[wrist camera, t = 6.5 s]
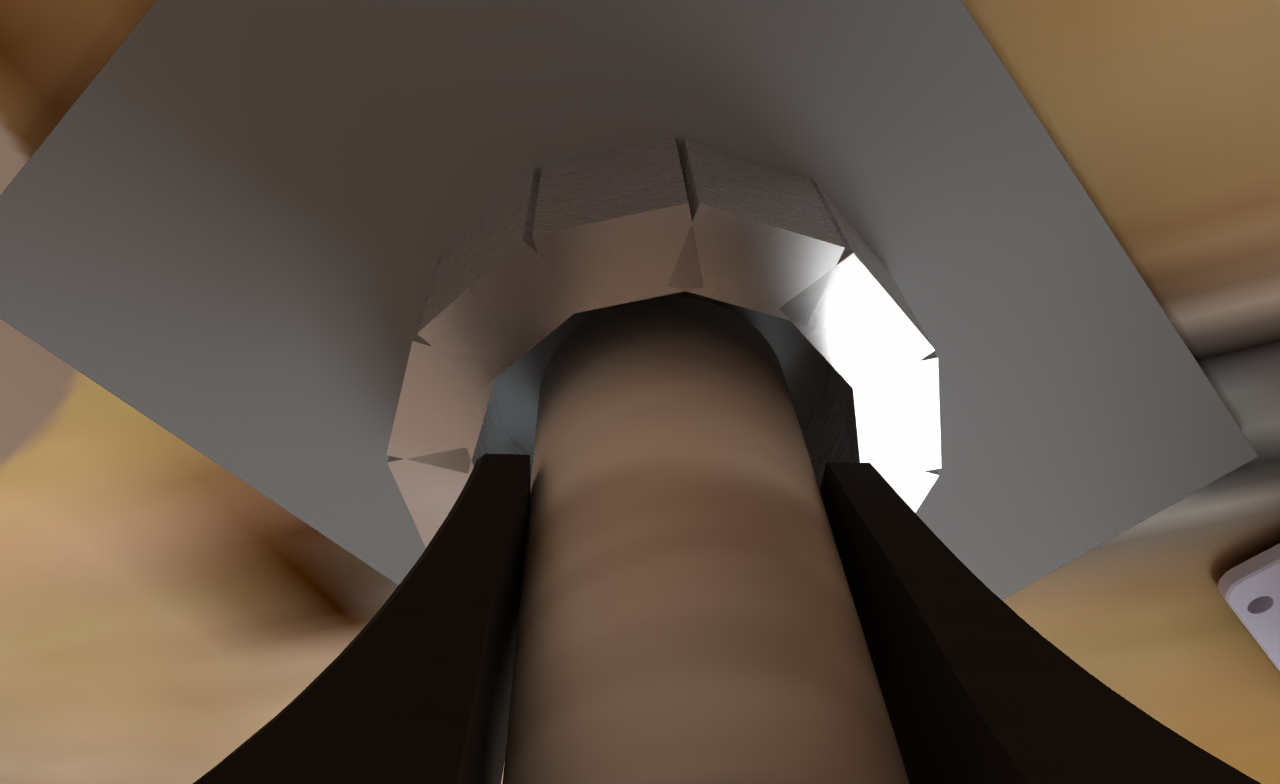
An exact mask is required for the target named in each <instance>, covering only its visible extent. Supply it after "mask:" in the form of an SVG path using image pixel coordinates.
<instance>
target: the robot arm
mask: <svg viewBox="0 0 1280 784" xmlns="http://www.w3.org/2000/svg"><path fill="white" fill-rule="evenodd" d="M530 493H531V487H530V455H524V454H484V455H483V456H481V457H480V458H479V459H478V460H477V461H476V463H475V465H474V468H473V470H472V472H471V474H470V476H469V478H468V480H467V482H466V484H465V486H464V488H463V490H462V492H461V493H460V495H459V497H458V499H457V500H456V502H455V504H454V505H453V507H452V509H451V510H450V512H449V514H448V515H447V517H446V519H445V520H444V522H443V523H442V525H441V526H440V528H439V529H438V531H437V532H436V534H435V535H434V537H433V538H432V540H431V541H430V543H429V544H428V546H427V547H426V549H425V550H424V552H423V553H422V555H421V556H420V558H419V559H418V560H417V562H416V563H415V565H414V566H413V567H412V569H411V570H410V571H409V572H408V574H407V575H406V576H405V578H404V579H403V580H402V582H401V583H400V584H399V586H398V587H397V588H396V589H395V591H394V592H393V593H392V595H391V596H390V597H389V599H388V600H387V601H386V602H385V604H384V605H383V606H382V607H381V609H380V610H379V611H378V612H377V613H376V615H375V616H374V617H373V618H372V619H371V620H370V622H369V623H368V624H367V625H366V626H365V627H364V629H363V630H362V631H361V632H360V633H359V634H358V635H357V636H356V637H355V639H354V640H353V641H352V642H351V643H350V644H349V645H348V646H347V647H346V648H345V649H344V650H343V652H342V653H341V654H340V655H339V656H338V657H337V658H336V659H335V660H334V661H333V662H332V663H331V664H330V665H329V666H328V667H327V668H326V669H325V670H324V671H323V672H322V673H321V674H320V675H319V676H318V677H317V678H316V679H315V680H314V681H313V682H312V683H311V684H310V685H309V686H308V687H307V688H306V689H305V690H304V691H303V692H302V693H301V694H300V695H298V696H297V697H296V698H295V699H294V700H293V701H292V702H291V703H290V704H289V705H288V706H287V707H285V708H284V709H283V710H282V711H281V712H280V713H279V714H278V715H277V716H275V717H274V718H273V719H272V720H271V721H270V722H268V723H267V724H266V725H265V726H264V727H262V728H261V729H260V730H259V731H258V732H256V733H255V734H254V735H253V736H252V737H250V738H249V739H248V740H247V741H245V742H244V743H243V744H242V745H241V746H239V747H238V748H237V749H236V750H235V751H233V752H232V753H231V754H230V755H229V756H227V757H226V758H225V759H224V760H223V761H221V762H220V763H219V764H218V765H217V766H215V767H214V768H213V769H211V770H210V771H209V772H208V773H206V774H205V775H204V776H202V777H201V778H200V779H198V780H197V781H196V782H194V783H193V784H501V779H502V773H503V767H504V761H505V754H506V743H507V733H508V722H509V711H510V701H511V690H512V679H513V669H514V658H515V647H516V637H517V626H518V615H519V605H520V594H521V583H522V573H523V562H524V553H525V546H526V537H527V526H528V515H529V504H530ZM820 493H821V496H822V500H823V503H824V506H825V509H826V513H827V516H828V519H829V523H830V526H831V529H832V532H833V536H834V539H835V542H836V545H837V549H838V552H839V555H840V558H841V562H842V565H843V568H844V571H845V575H846V578H847V581H848V584H849V588H850V591H851V594H852V597H853V601H854V604H855V607H856V611H857V614H858V617H859V620H860V624H861V627H862V630H863V633H864V637H865V640H866V643H867V646H868V650H869V653H870V656H871V659H872V663H873V666H874V669H875V672H876V676H877V679H878V682H879V685H880V689H881V692H882V695H883V699H884V702H885V705H886V708H887V712H888V715H889V718H890V721H891V725H892V728H893V731H894V734H895V738H896V741H897V744H898V747H899V751H900V754H901V757H902V760H903V764H904V767H905V770H906V773H907V777H908V780H909V783H910V784H1261V783H1259V782H1257V781H1256V780H1254V779H1252V778H1250V777H1248V776H1247V775H1245V774H1243V773H1242V772H1240V771H1238V770H1237V769H1235V768H1233V767H1231V766H1230V765H1228V764H1226V763H1225V762H1223V761H1221V760H1220V759H1218V758H1216V757H1215V756H1213V755H1211V754H1209V753H1208V752H1206V751H1204V750H1203V749H1201V748H1199V747H1198V746H1196V745H1194V744H1193V743H1191V742H1190V741H1188V740H1186V739H1185V738H1183V737H1182V736H1180V735H1179V734H1177V733H1175V732H1174V731H1172V730H1171V729H1169V728H1167V727H1166V726H1164V725H1163V724H1161V723H1160V722H1158V721H1157V720H1155V719H1154V718H1152V717H1151V716H1149V715H1148V714H1146V713H1145V712H1144V711H1142V710H1141V709H1139V708H1138V707H1136V706H1135V705H1133V704H1132V703H1130V702H1129V701H1128V700H1126V699H1125V698H1123V697H1122V696H1120V695H1119V694H1117V693H1116V692H1114V691H1113V690H1111V689H1110V688H1109V687H1107V686H1106V685H1105V684H1103V683H1102V682H1101V681H1099V680H1098V679H1096V678H1095V677H1094V676H1092V675H1091V674H1090V673H1088V672H1087V671H1086V670H1084V669H1083V668H1082V667H1080V666H1079V665H1078V664H1077V663H1075V662H1074V661H1073V660H1072V659H1070V658H1069V657H1068V656H1067V655H1065V654H1064V653H1063V652H1062V651H1060V650H1059V649H1058V648H1057V647H1055V646H1054V645H1053V644H1052V643H1050V642H1049V641H1048V640H1047V639H1045V638H1044V637H1043V636H1042V635H1040V634H1039V633H1038V632H1037V631H1036V630H1034V629H1033V628H1032V627H1031V626H1030V625H1029V624H1027V623H1026V622H1025V621H1024V620H1023V619H1022V618H1021V617H1019V616H1018V615H1017V614H1016V613H1015V612H1014V611H1013V610H1012V609H1011V608H1010V607H1008V606H1007V605H1006V604H1005V603H1004V602H1003V601H1002V600H1001V599H1000V598H999V597H998V596H997V595H995V594H994V593H993V592H992V591H991V590H990V589H989V588H988V587H987V586H986V585H985V584H984V583H983V582H982V581H981V580H980V579H978V578H977V577H976V576H975V575H974V574H973V573H972V572H971V571H970V570H969V569H968V568H967V567H966V566H965V565H964V564H963V563H962V562H961V561H960V560H959V559H958V558H957V557H956V556H955V555H954V554H953V553H952V552H951V551H950V549H949V548H948V547H947V546H946V545H945V544H944V543H943V542H942V541H941V540H940V539H939V538H938V537H937V536H936V535H935V534H934V533H933V532H932V531H931V530H930V528H929V527H928V526H927V525H926V524H925V523H924V522H923V521H922V520H921V519H920V518H919V516H918V515H917V514H916V513H915V512H914V511H913V510H912V509H911V508H910V507H909V506H908V504H907V503H906V502H905V501H904V500H903V499H902V498H901V497H900V496H899V494H898V493H897V492H896V491H895V490H894V489H893V488H892V487H891V486H890V484H889V483H888V482H887V481H886V480H885V479H884V478H883V477H882V476H881V474H880V473H879V472H878V471H877V470H876V469H875V468H874V467H873V466H872V465H871V464H870V463H855V462H826V465H825V470H824V474H823V479H822V484H821V488H820ZM1218 590H1219V593H1220V594H1221V595H1222V597H1223V598H1224V599H1225V601H1226V602H1227V603H1228V605H1229V606H1230V607H1231V609H1232V610H1233V611H1234V613H1235V614H1236V615H1237V616H1238V618H1239V619H1240V620H1241V622H1242V623H1243V624H1244V626H1245V627H1246V628H1247V629H1248V631H1249V632H1250V633H1251V635H1252V636H1253V637H1254V639H1255V640H1256V641H1257V643H1258V644H1259V645H1260V646H1261V648H1262V649H1263V650H1264V652H1265V653H1266V654H1267V656H1268V657H1269V658H1270V660H1271V661H1272V662H1273V663H1274V665H1275V666H1276V667H1277V669H1278V670H1279V671H1280V543H1279V544H1277V545H1275V546H1273V547H1271V548H1269V549H1267V550H1266V551H1264V552H1262V553H1260V554H1258V555H1256V556H1254V557H1252V558H1250V559H1248V560H1246V561H1244V562H1243V563H1241V564H1239V565H1237V566H1235V567H1233V568H1231V569H1230V570H1228V571H1227V572H1226V573H1225V574H1224V575H1223V576H1222V577H1221V578H1220V580H1219V583H1218Z"/></svg>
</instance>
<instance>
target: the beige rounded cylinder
mask: <svg viewBox="0 0 1280 784" xmlns="http://www.w3.org/2000/svg"><path fill="white" fill-rule="evenodd" d="M503 784H910V783H909V780H908V777H907V773H906V770H905V767H904V764H903V760H902V757H901V754H900V751H899V747H898V744H897V741H896V738H895V734H894V731H893V728H892V725H891V721H890V718H889V715H888V712H887V708H886V705H885V702H884V699H883V695H882V692H881V689H880V685H879V682H878V679H877V676H876V672H875V669H874V666H873V663H872V659H871V656H870V653H869V650H868V646H867V643H866V640H865V637H864V633H863V630H862V627H861V624H860V620H859V617H858V614H857V611H856V607H855V604H854V601H853V597H852V594H851V591H850V588H849V584H848V581H847V578H846V575H845V571H844V568H843V565H842V562H841V558H840V555H839V552H838V549H837V545H836V542H835V539H834V536H833V532H832V529H831V526H830V523H829V519H828V516H827V513H826V509H825V506H824V503H823V500H822V496H821V493H820V490H819V487H818V483H817V480H816V477H815V474H814V470H813V467H812V464H811V461H810V457H809V454H808V451H807V448H806V444H805V441H804V438H803V435H802V431H801V428H800V425H799V421H798V418H797V415H796V412H795V408H794V405H793V402H792V399H791V395H790V392H789V389H788V386H787V382H786V379H785V376H784V373H783V369H782V367H781V364H780V362H779V359H778V357H777V355H776V353H775V352H774V350H773V348H772V347H771V345H770V344H769V342H768V341H767V340H766V339H765V337H764V336H763V335H762V334H761V333H760V332H759V331H758V330H757V329H756V328H755V327H754V326H753V325H751V324H750V323H749V322H748V321H746V320H745V319H743V318H742V317H740V316H739V315H737V314H736V313H734V312H732V311H730V310H728V309H726V308H724V307H722V306H719V305H716V304H713V303H710V302H707V301H703V300H699V299H694V298H689V297H678V296H659V297H654V298H649V299H644V300H639V301H634V302H629V303H624V304H619V305H615V306H613V307H610V308H607V309H605V310H603V311H601V312H599V313H598V314H596V315H594V316H592V317H590V318H589V319H587V320H586V321H585V322H583V323H582V324H580V325H579V326H578V327H576V328H575V329H574V330H573V331H572V332H571V333H570V334H569V335H568V336H567V337H566V338H565V339H564V340H563V341H562V343H561V344H560V345H559V346H558V348H557V349H556V350H555V352H554V354H553V355H552V357H551V359H550V360H549V362H548V364H547V367H546V369H545V372H544V374H543V377H542V381H541V386H540V391H539V402H538V413H537V423H536V434H535V445H534V455H533V466H532V477H531V493H530V504H529V515H528V526H527V537H526V546H525V553H524V562H523V573H522V583H521V594H520V605H519V615H518V626H517V637H516V647H515V658H514V669H513V679H512V690H511V701H510V711H509V722H508V733H507V743H506V754H505V765H504V775H503Z"/></svg>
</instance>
